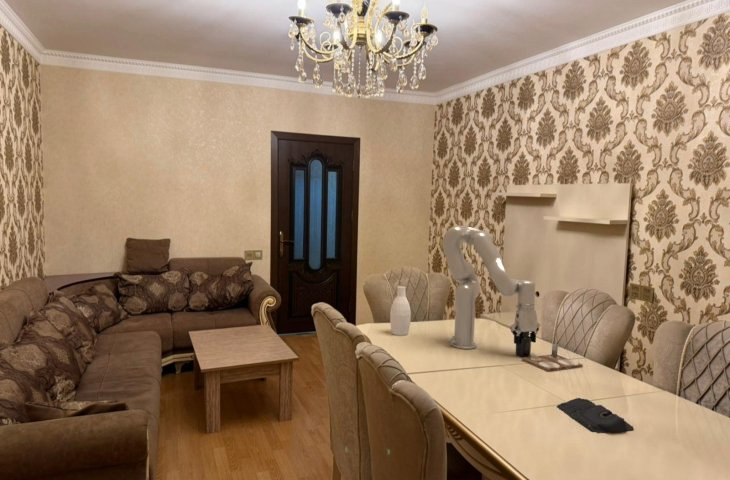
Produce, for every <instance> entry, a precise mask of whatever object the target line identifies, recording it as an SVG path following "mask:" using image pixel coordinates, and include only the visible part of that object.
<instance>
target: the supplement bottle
mask: <svg viewBox="0 0 730 480" xmlns="http://www.w3.org/2000/svg"><path fill="white" fill-rule="evenodd" d="M519 336H520V344H519V345H518V344H515V353H514V354H515V355H516V356H517V357H520V358H525V357H531V353H532V342H531V337H530V332H521V333H520V334H519Z"/></svg>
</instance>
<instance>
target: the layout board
mask: <svg viewBox="0 0 730 480" xmlns="http://www.w3.org/2000/svg"><path fill="white" fill-rule="evenodd" d="M551 346H552V347H551V354H545V355H534V356H530V357H521V361H523V362H524V363H527V364H529V365H531V366H534V367H536V368H538V369H540V370H543V371H545V372H556V371H563V370H565V371H566V370H572V369H578V368H583V363H580V362H577V361H574V360H572V359H569V358H567V357H564V356H561V355H559V354H558V350H559V349H558V348H559V344H558V343H552V344H551Z"/></svg>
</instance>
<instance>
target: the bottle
mask: <svg viewBox="0 0 730 480" xmlns="http://www.w3.org/2000/svg"><path fill="white" fill-rule="evenodd" d="M396 288H397V292H396V293H397V294H396V296H395V297H394V300H393V301H392V304H391V307H390V313H389V316H390V317H389V318H390V319H389V320H390V333H391V335H394V336H400V337H402V336H408V334H409V332H410V326H411V317H412V312H411V305H410V302H409V300H408V299H407V296H406V294H407V293H406V289H407V288H406V286H403V285H398V286H397V287H396Z"/></svg>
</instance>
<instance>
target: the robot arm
mask: <svg viewBox="0 0 730 480" xmlns="http://www.w3.org/2000/svg"><path fill="white" fill-rule="evenodd" d="M493 242H494V238H493V236H492V234H491V233H490V232H488V231H486V230H482V229H481V230H480V229H478V228H474V227H470V226H468V225H467V226H466V225H455V226H452V227H450V228H448V229H447V230H446V232H445V233H444V235H443V238H442V248H443V251H444V254H445V258H446V261H447V262H446V263H447V265H448V268H449V271H450V275H451V278H453V280H455V281H458V282H459V284H458V286H457V287H456V289H455V292H454V301H455V309H454V311H455V312H454V315H455V316H454V335H452V337H451V338H445V343H446V344H447V343H448V344H449V343H450V345H451V347H454V348H457V349H463V350H472V349H475V348H477V343H475V342H474V339H475V321H476V320H475V318H476V302H475V301H476V299H477V298H478V297H479V295H480V293H481V286H480V284H479V280H478V278H477V275H476V272H475V268H474V267H473V264H472V263H471V262H470V261H468V260H465V257H464V253H463V251H462V248H461V245H460V244H461V243H464V244H469V245H472V246H473V247H474V250H475V251H476V252H477V253H478V256H479V257H480V258H481V260H482V262H483V263H484V265H485V267H486V270H487V272H488V274H489V276H490V278H491V280H492V282H493V284H494V285H495V287H496V289H497V290H498V291H499V293H500V294H501V295H503V296H505V297H511V296H514V295H515V294H517V304H516V308H517V309H516V311H515V316H514V323H513V324H511V325H510V326H509V329H510V332H511V333H512V335H513V343H514V344H515V345H516V344H518V345H519V344H520V336H519V334H520V333H521V332H529V336H530V337H531V343H536V342H537V334H538V331H539V330H540V327H541V323H539V322H538V316H537V315H538V314H537V311H536V309H535V303H536V301H535V298H536V283H535V281H533V280H529V279H522V280H521V279H516V278H511V277H510V276H509V275H508V273H507V271H506V269H505V267H504V263H503V262H504V261H503V257H502V255H501V254H500V252H499V250H498V249H497V247H496V245H495V244H494V243H493Z"/></svg>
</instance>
